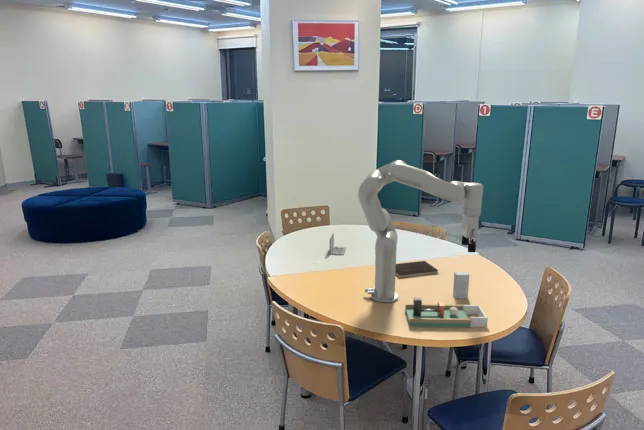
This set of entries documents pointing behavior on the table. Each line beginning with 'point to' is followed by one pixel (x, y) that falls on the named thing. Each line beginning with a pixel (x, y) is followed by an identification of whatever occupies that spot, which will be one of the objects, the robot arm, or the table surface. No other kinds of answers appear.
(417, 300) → the kicker rod
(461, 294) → the skincare box
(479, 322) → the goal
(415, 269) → the hardcover book
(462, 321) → the pitch board
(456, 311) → the ball
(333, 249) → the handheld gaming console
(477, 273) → the table surface
